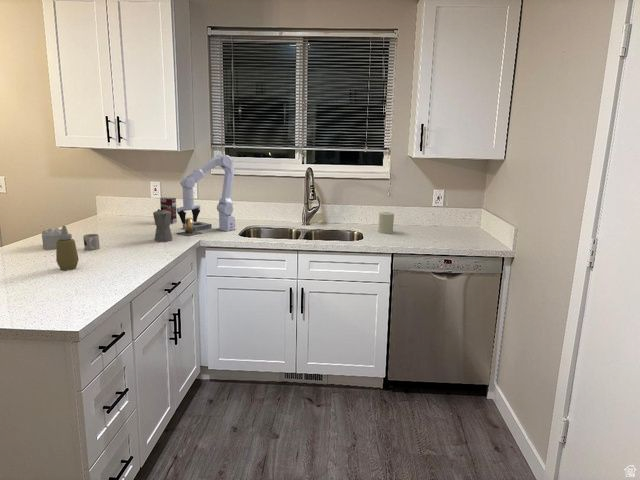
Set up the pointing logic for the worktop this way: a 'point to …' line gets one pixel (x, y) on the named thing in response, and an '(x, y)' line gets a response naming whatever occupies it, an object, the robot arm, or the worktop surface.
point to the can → (386, 222)
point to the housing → (200, 226)
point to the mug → (91, 242)
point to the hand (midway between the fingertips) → (189, 222)
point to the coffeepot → (162, 225)
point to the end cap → (188, 225)
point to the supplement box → (169, 207)
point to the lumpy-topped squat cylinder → (50, 238)
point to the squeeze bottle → (66, 251)
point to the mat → (190, 233)
